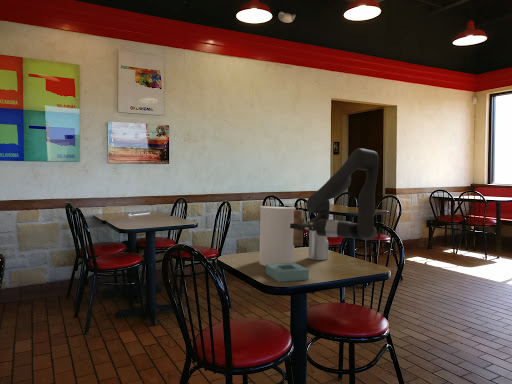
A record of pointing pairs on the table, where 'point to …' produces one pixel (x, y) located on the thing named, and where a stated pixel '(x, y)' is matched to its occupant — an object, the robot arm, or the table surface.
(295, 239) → the walnut peg
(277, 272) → the collar
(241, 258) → the table surface
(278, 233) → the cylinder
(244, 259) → the table surface
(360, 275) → the table surface
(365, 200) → the robot arm
